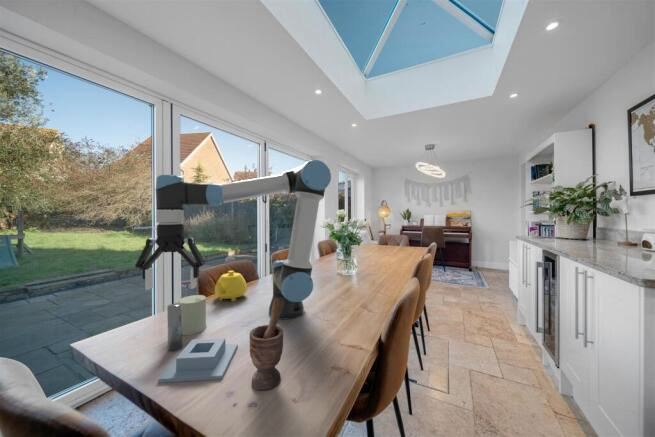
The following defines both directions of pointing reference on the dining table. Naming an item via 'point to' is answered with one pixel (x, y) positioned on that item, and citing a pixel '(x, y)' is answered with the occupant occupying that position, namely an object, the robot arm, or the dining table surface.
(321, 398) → the dining table surface
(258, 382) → the mortar and pestle
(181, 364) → the socket block
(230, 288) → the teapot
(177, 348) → the peg
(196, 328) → the can
